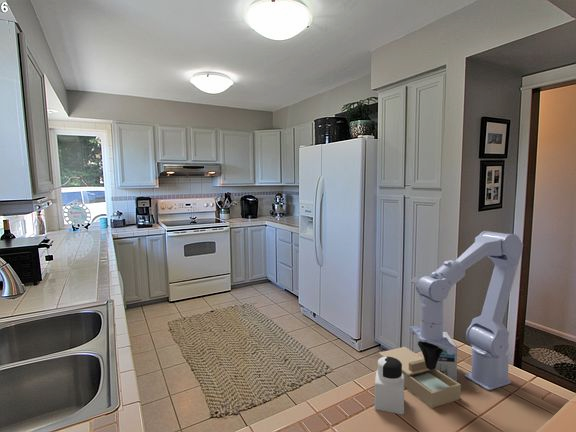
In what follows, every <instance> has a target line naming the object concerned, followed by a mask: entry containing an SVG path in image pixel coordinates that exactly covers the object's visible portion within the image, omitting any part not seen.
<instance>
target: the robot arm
mask: <svg viewBox="0 0 576 432" xmlns="http://www.w3.org/2000/svg"><path fill="white" fill-rule="evenodd" d="M523 247H524V244H523V242H522V240H521V239H520V237H519V235H517V234H515V233H505V232H504V233H503V232H495V231H490V230H484V231H481V232H480V233H479V235H476V236H475V238H474V243H472V245H470V246H469V247H468V248H467V249H466V250H465V251H464V252H463V253H462V254H461V255H459V257H457V258H456V259H455V260H452V259H449V260H445V261H444V262H443V263H442V265H441V266H440V267H438V268H437V269H436V270H434V271H432V272H430V275H424V276H422V277H421V278H420V279H418V281H417V284H416V285H415V290H416V292H417V294H418V298H419V299H418V300H419V301H420V305H419V306H420V311H419V312H420V314H419V315H420V316H419V317H420V318H419V319H420V320H419V321H420V325H419V326H420V327H419V326H417V325H412V326H409V334H411V335H415V336H417V340H418V341H417V346H418V347H419V349H420V351H421V353H422V356H423V358H424V360H425V364H426V367H427V368H428V369H429V370H432V369H435V368H436V365H437V362H438V359H439V357H440V355H441V353H442V352H443V350H445V351H446V352H447V354H449V355H453V354H456V346H457V345H456V346H454V345H452V344H451V343H450V342H449V341H448V340H446V339H445V338H444V337H443V332H444V326H443V325H444V300H446V299H447V298H448V296H449V292H450V291H451V289H452V287H453V286H455V285H456V284H457V283H458V282H459V281H461V280H462V279H463V278H465V276H466V270H467V269H469V268H470V267H471V266H473V265H474V264H476V263H477V262H479V261H480V260H482V259H483V258H485V257H487V258H489V259H490V260H491V261H492V263H493V265H494V267H493V270H492V274H491V277H490V282H489V285H488V288H487V292H486V296H485V300H484V304H483V306H482V310H481V312H480V313H481V314H480V315H479V316H476V317H474V318H472V320H471V322H470V325H469V326H468V327H467V329H466V331H465V337H466V340H467V342H468V343H469V344H470V345H469V347H471V372H468V373H465V374H464V377H466V379H468V380H470V381H472V382H473V383H475V384H476V385H478V386H480V387H482V388H483V389H485V390H487V391H491V390H494V389H498V388H501V387H504V386H507V385H510V384H512V381H511V380H509V367H510V366H509V361H510V360H509V358H508V356H507V352H508V349H509V344H510V343H509V335H510V332H509V330H508V329H507V327H506V326H505V325H504V323H503V321H504V318H505V317H504V316H505V314H506V310H507V306H508V303H509V300H510V296H511V292H512V287H513V285H514V280H515V277H516V273H517V270H518V266H519V262H520V259H521V255H522V252H523Z"/></svg>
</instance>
